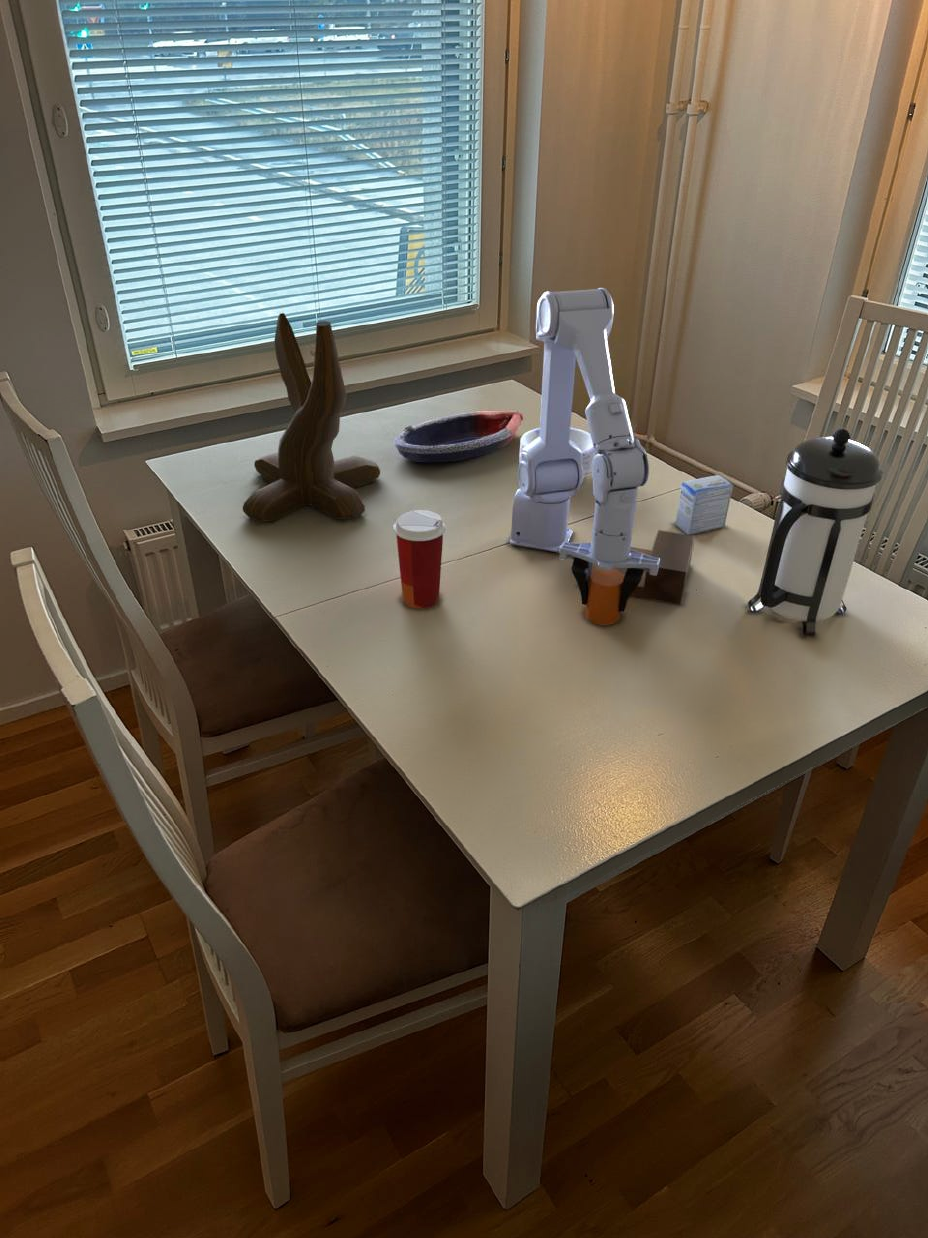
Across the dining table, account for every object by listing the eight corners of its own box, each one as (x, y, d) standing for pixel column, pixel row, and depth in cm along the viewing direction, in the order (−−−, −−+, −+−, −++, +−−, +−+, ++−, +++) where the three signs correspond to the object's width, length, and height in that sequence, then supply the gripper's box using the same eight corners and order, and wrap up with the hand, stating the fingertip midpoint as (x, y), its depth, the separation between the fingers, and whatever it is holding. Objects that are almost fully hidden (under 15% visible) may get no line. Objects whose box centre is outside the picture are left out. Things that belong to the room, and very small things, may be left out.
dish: (379, 449, 191) (378, 426, 188) (503, 421, 204) (504, 399, 201) (415, 477, 180) (414, 454, 177) (543, 446, 193) (545, 423, 190)
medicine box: (710, 517, 168) (718, 473, 163) (725, 527, 164) (734, 484, 160) (674, 524, 165) (681, 481, 160) (688, 536, 162) (696, 491, 157)
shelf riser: (580, 586, 148) (583, 554, 144) (595, 551, 157) (598, 520, 154) (680, 604, 144) (686, 572, 140) (689, 567, 153) (695, 535, 150)
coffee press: (733, 581, 149) (770, 405, 132) (834, 588, 148) (884, 411, 131) (749, 644, 135) (793, 456, 118) (861, 651, 134) (921, 462, 117)
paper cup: (452, 591, 146) (452, 513, 138) (435, 616, 140) (434, 536, 132) (406, 582, 148) (404, 504, 140) (387, 607, 142) (384, 527, 134)
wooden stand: (414, 503, 171) (410, 312, 151) (271, 545, 157) (246, 342, 137) (341, 449, 190) (329, 274, 171) (208, 482, 177) (178, 297, 157)
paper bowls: (565, 455, 189) (568, 418, 185) (611, 483, 179) (615, 445, 174) (503, 470, 183) (505, 433, 178) (547, 501, 172) (550, 462, 168)
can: (582, 621, 140) (586, 582, 136) (589, 603, 144) (593, 565, 140) (616, 627, 138) (621, 588, 134) (622, 609, 142) (627, 571, 138)
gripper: (557, 531, 131) (551, 610, 138) (659, 548, 127) (646, 628, 135) (568, 509, 136) (561, 586, 144) (666, 525, 133) (654, 603, 140)
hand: (603, 605), depth 140 cm, fingers closed on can, 5 cm apart
